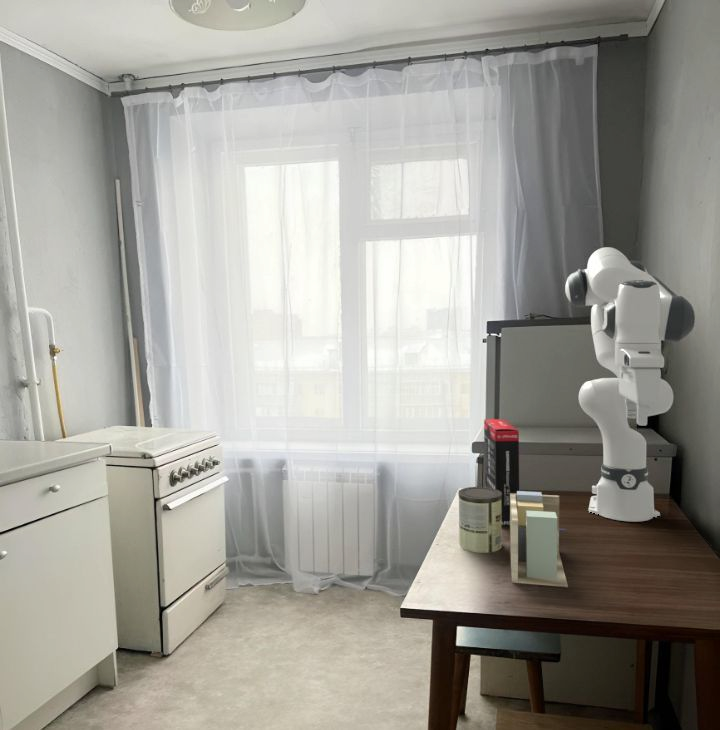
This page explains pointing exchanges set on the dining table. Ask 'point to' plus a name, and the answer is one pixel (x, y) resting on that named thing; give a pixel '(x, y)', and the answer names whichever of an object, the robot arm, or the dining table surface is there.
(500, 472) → the graphics card box
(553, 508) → the shelf
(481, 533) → the coffee can
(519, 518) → the shelved books
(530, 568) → the boxed book
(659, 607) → the dining table surface
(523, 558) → the bookend
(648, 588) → the dining table surface
